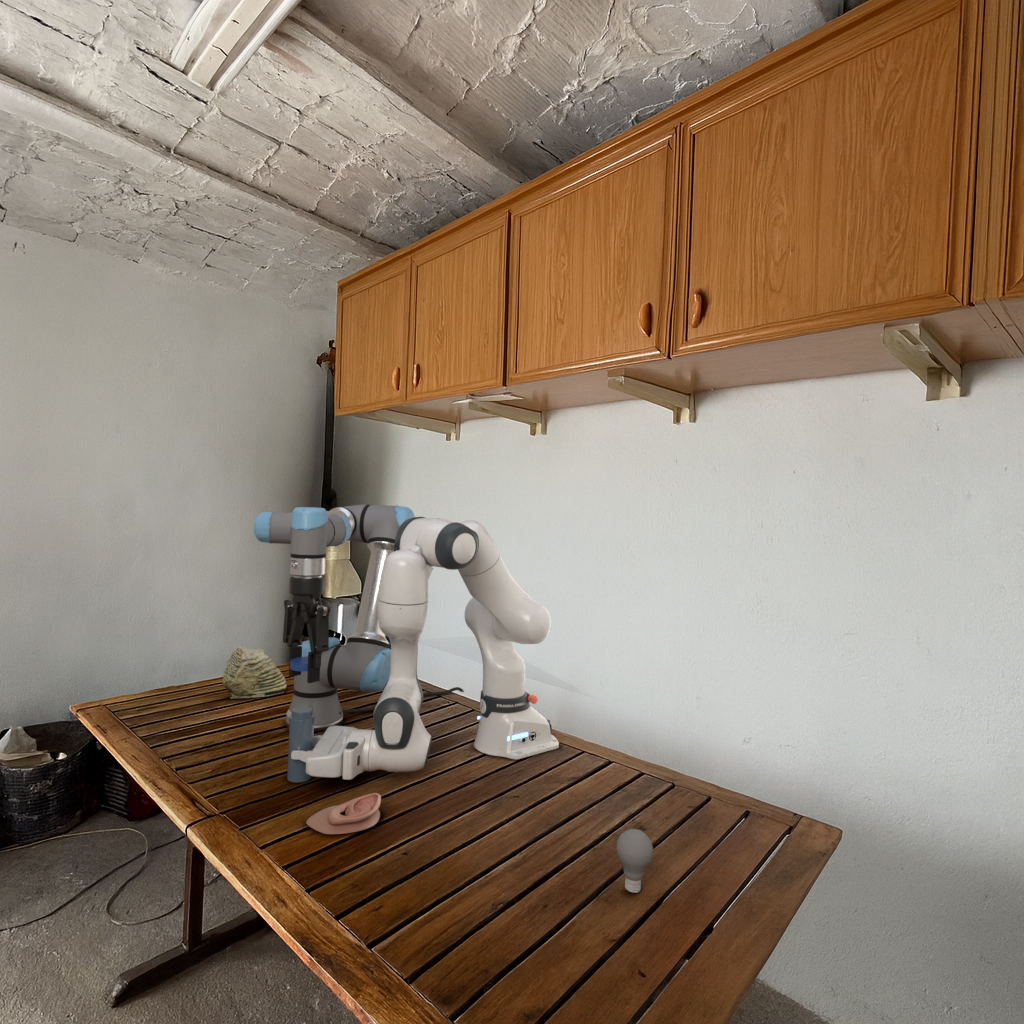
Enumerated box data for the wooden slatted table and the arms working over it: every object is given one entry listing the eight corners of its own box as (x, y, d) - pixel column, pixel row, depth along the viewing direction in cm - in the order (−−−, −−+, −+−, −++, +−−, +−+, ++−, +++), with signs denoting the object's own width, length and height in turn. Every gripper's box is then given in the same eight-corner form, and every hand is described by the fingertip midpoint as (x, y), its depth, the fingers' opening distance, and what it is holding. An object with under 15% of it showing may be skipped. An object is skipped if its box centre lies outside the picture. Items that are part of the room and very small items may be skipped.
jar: (294, 784, 139) (297, 715, 138) (282, 776, 142) (285, 709, 142) (316, 777, 143) (319, 709, 142) (304, 770, 146) (307, 703, 146)
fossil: (218, 695, 195) (220, 647, 195) (278, 685, 208) (279, 640, 207) (228, 703, 189) (230, 653, 188) (289, 692, 201) (290, 645, 201)
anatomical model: (298, 809, 120) (327, 783, 131) (297, 830, 120) (327, 802, 131) (363, 819, 117) (388, 791, 128) (362, 840, 117) (387, 811, 128)
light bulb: (610, 879, 108) (613, 822, 108) (644, 879, 109) (647, 822, 109) (619, 902, 102) (622, 840, 102) (655, 901, 103) (658, 840, 103)
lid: (323, 665, 145) (323, 658, 145) (310, 672, 139) (310, 664, 139) (298, 663, 146) (299, 655, 146) (284, 670, 140) (285, 662, 140)
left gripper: (267, 572, 144) (264, 673, 145) (320, 582, 133) (316, 691, 134) (296, 570, 150) (292, 667, 151) (348, 579, 139) (345, 683, 140)
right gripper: (368, 719, 153) (310, 718, 153) (349, 753, 133) (282, 751, 132) (367, 745, 153) (309, 744, 153) (348, 783, 133) (281, 781, 132)
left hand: (304, 678), depth 142 cm, fingers closed on lid, 6 cm apart
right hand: (296, 748), depth 142 cm, fingers closed on jar, 5 cm apart
